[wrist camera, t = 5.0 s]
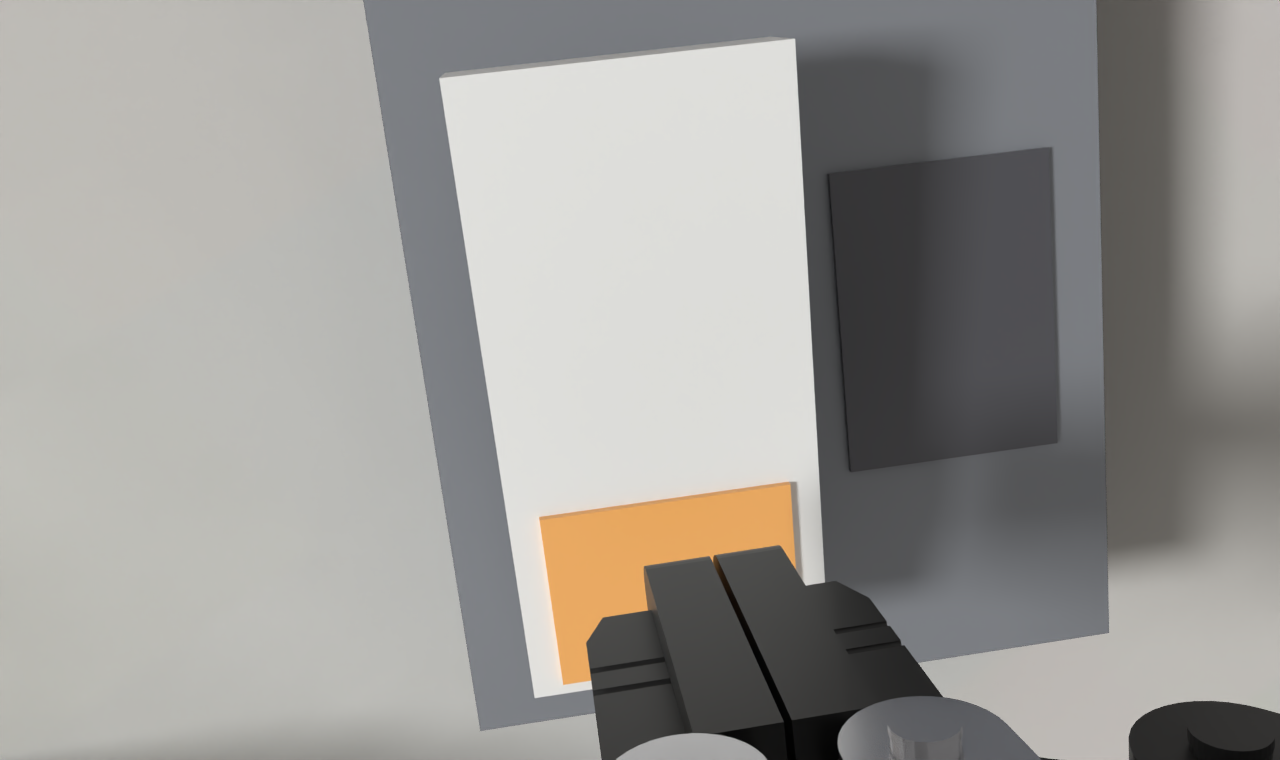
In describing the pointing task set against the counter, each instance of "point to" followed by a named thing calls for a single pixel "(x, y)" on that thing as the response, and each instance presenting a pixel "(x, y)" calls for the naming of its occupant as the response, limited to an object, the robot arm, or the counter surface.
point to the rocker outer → (639, 321)
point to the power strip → (837, 302)
